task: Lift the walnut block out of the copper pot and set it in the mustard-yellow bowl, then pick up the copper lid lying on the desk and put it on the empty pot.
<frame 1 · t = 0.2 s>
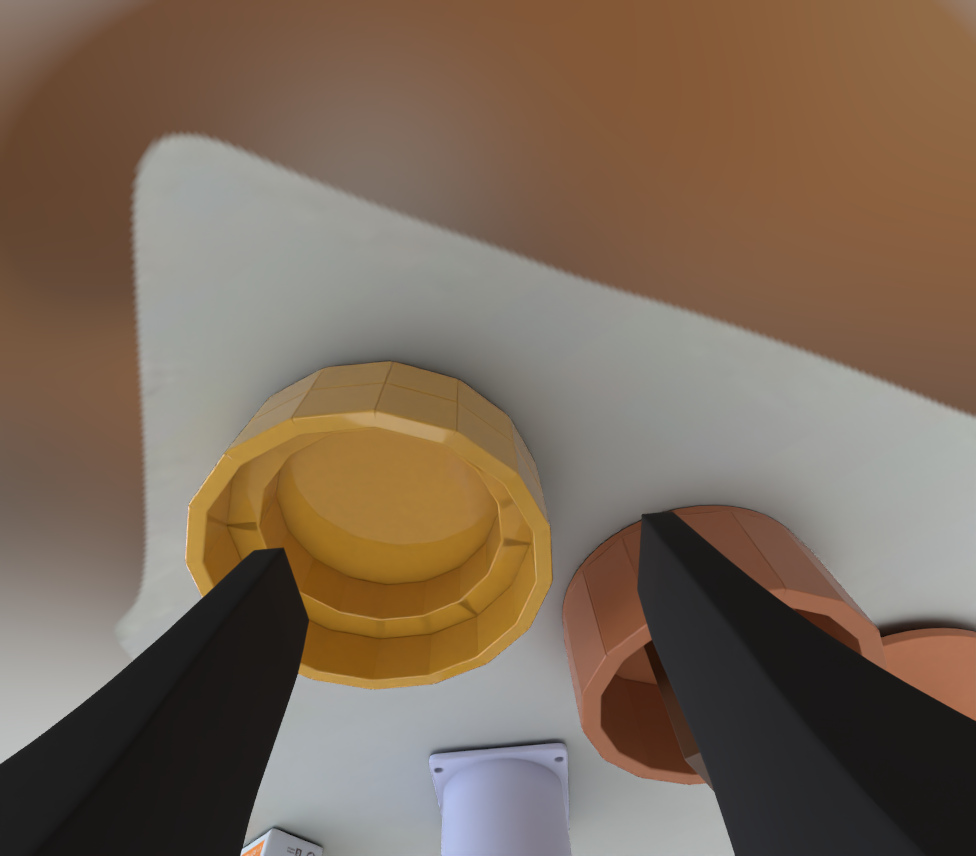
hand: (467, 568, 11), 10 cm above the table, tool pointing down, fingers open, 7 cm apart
lid: (889, 709, 29), point 1 cm above the table
walnut block: (688, 612, 25), resting on pot
bowl: (390, 495, 22), on the table
pot: (684, 604, 25), on the table
cosmetic box: (273, 849, 35), on the table
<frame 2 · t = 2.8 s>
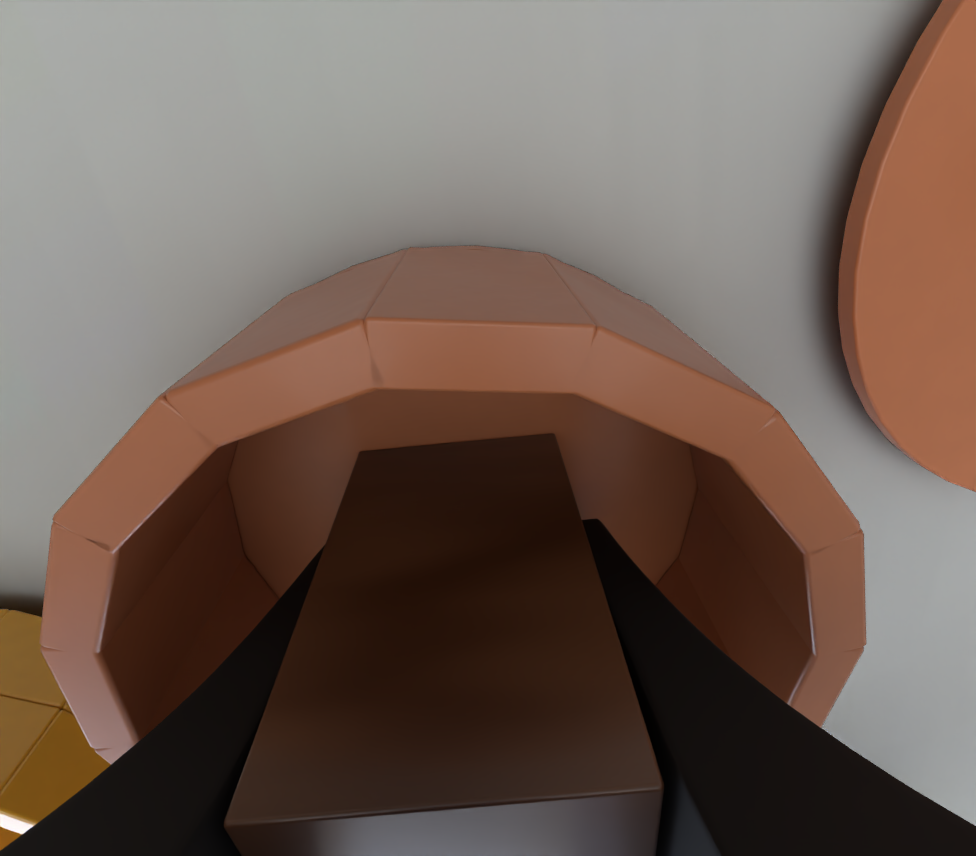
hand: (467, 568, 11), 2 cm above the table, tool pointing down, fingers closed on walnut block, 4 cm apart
walnut block: (467, 520, 12), point 1 cm above the table, touching gripper, pot
bowl: (57, 738, 16), on the table
pot: (467, 507, 12), on the table
when the fingers open (2 cm above the table, at t = 8.0 s): walnut block stays where it is, resting on bowl.
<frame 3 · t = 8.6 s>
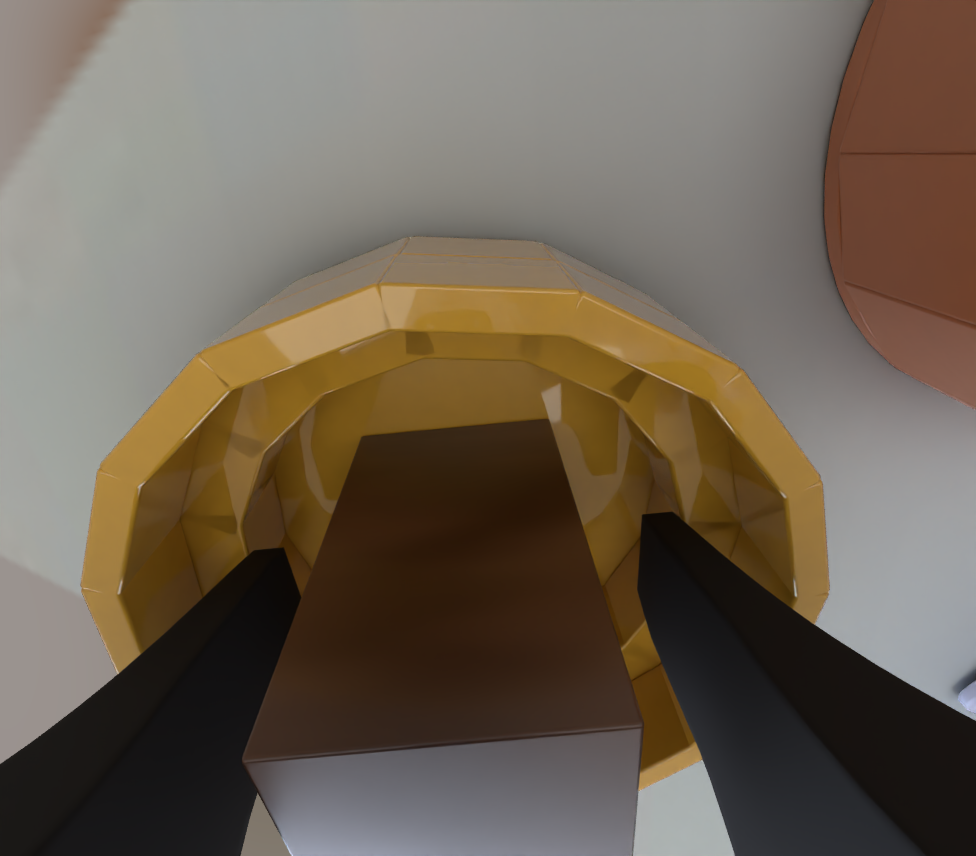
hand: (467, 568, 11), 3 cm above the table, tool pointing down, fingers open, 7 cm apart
walnut block: (465, 503, 12), point 1 cm above the table, touching bowl
bowl: (467, 492, 13), on the table
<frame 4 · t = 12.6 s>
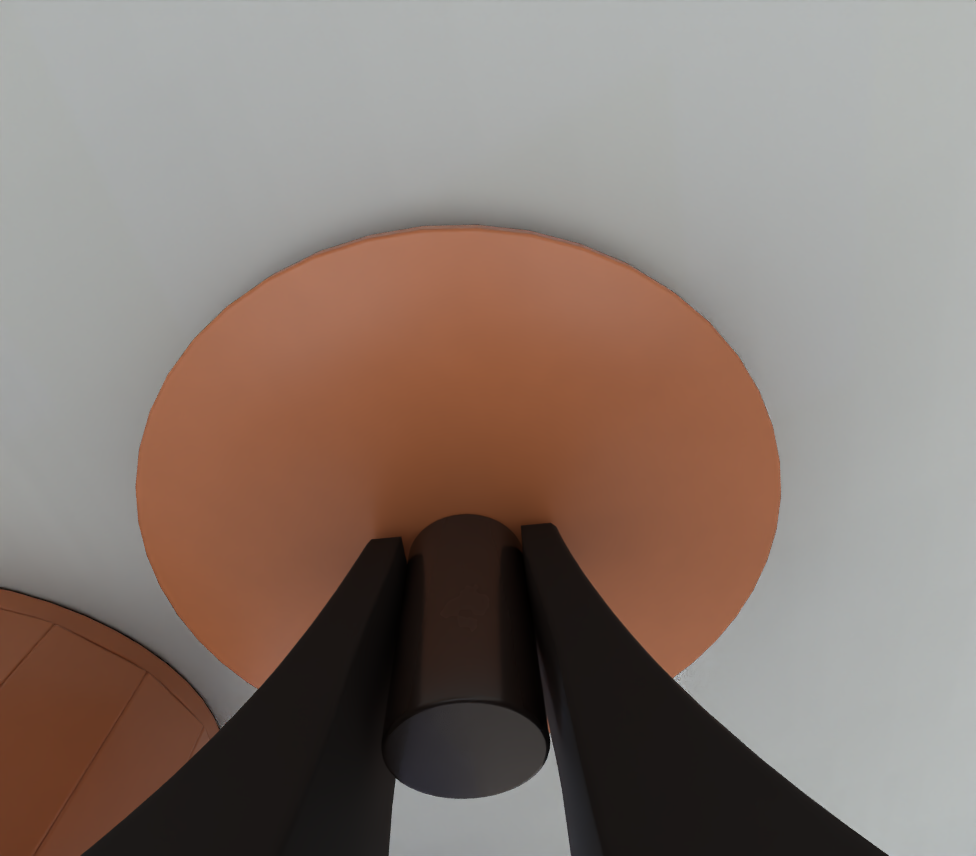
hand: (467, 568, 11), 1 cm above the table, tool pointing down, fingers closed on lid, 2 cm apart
lid: (466, 542, 11), point 1 cm above the table, touching gripper
pot: (4, 734, 15), on the table
when the fingers open (6 cm above the table, at t = 16.6 s): lid stays where it is, resting on pot.
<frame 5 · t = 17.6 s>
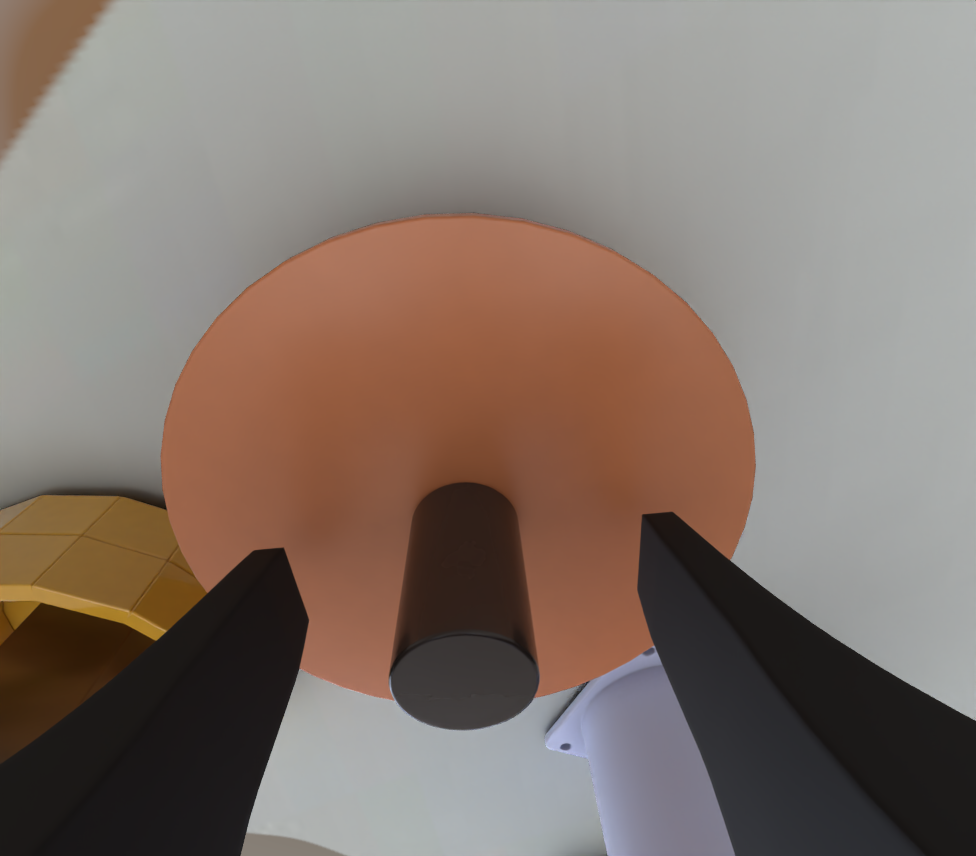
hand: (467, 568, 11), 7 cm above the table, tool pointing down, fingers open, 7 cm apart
lid: (465, 511, 12), point 5 cm above the table, touching pot
walnut block: (132, 626, 20), point 1 cm above the table, touching bowl
bowl: (141, 616, 20), on the table
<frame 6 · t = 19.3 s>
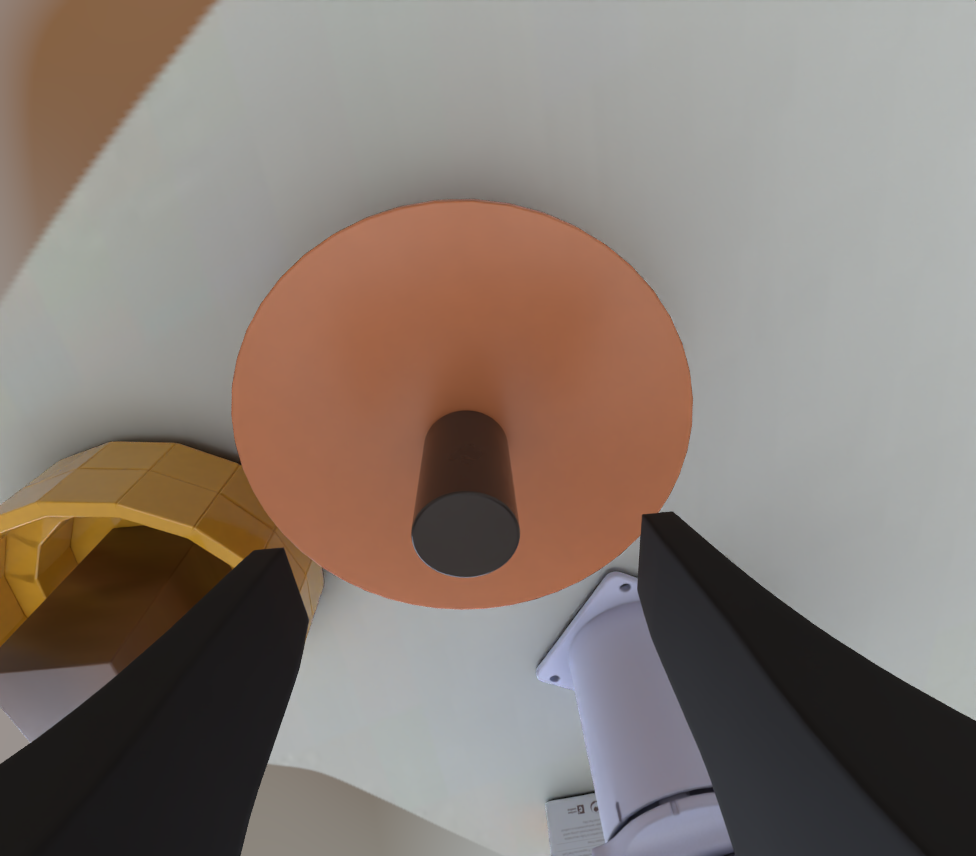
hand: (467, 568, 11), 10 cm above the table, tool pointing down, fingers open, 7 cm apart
lid: (466, 438, 15), point 5 cm above the table, touching pot
walnut block: (179, 561, 23), point 1 cm above the table, touching bowl
bowl: (186, 554, 23), on the table
cosmetic box: (581, 814, 35), on the table
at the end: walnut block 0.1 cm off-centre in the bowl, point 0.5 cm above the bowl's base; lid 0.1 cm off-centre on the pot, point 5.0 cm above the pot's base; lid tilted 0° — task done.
